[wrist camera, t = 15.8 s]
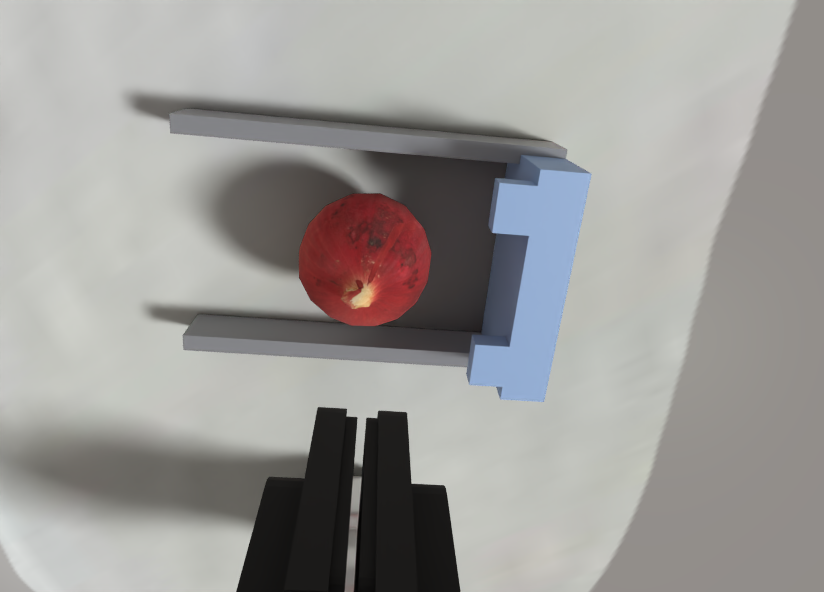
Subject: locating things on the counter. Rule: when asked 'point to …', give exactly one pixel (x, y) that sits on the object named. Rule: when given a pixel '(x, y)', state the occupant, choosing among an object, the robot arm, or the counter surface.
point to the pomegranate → (364, 259)
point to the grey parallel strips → (339, 337)
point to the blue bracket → (528, 274)
